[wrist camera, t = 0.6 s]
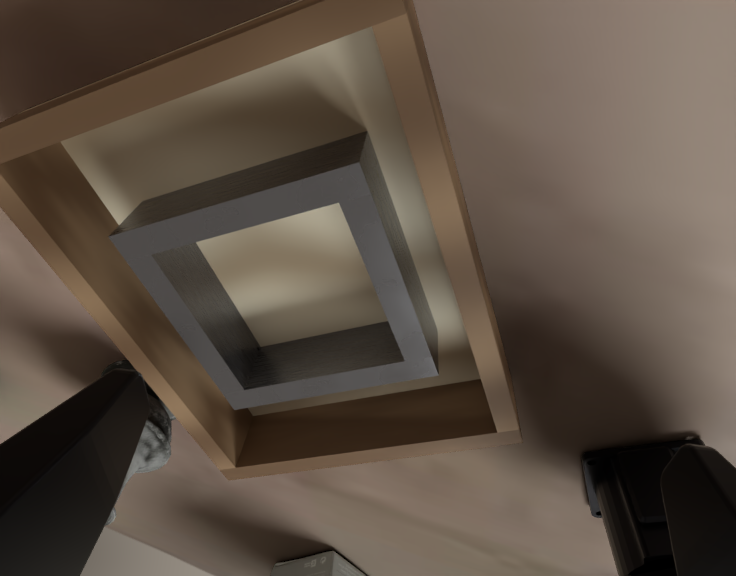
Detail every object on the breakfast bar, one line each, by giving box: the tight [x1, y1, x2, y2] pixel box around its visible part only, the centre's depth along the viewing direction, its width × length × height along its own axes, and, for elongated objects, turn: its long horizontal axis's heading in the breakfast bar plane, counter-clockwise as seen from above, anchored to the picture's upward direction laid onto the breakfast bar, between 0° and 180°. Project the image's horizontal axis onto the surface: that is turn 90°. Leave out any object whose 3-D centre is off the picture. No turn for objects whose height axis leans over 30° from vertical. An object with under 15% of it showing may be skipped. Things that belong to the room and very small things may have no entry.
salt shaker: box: [101, 360, 176, 525], centre depth 26 cm, size 6×6×12 cm
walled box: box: [0, 0, 523, 480], centre depth 22 cm, size 20×16×4 cm
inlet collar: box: [108, 131, 439, 410], centre depth 22 cm, size 10×10×3 cm
